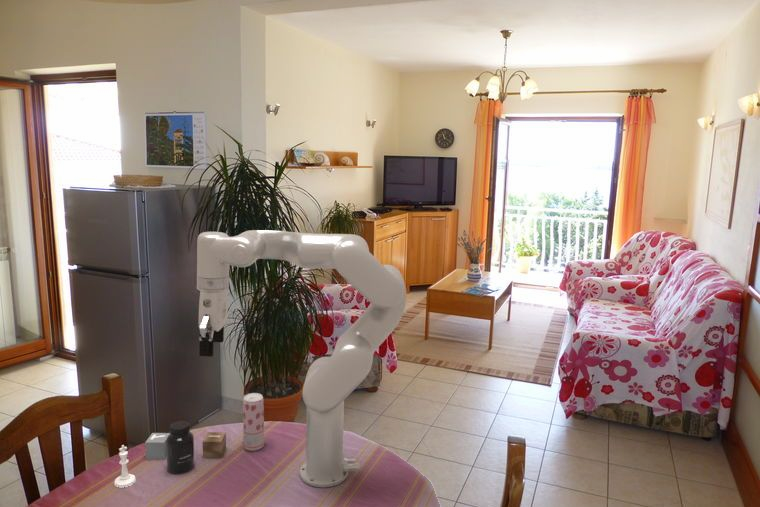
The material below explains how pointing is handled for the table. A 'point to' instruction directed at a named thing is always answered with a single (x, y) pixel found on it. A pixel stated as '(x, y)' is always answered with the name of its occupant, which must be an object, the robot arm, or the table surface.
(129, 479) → the chess piece
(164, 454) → the slate-grey numbered block
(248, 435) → the beverage can
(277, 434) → the table surface
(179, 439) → the supplement bottle
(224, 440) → the walnut numbered block
